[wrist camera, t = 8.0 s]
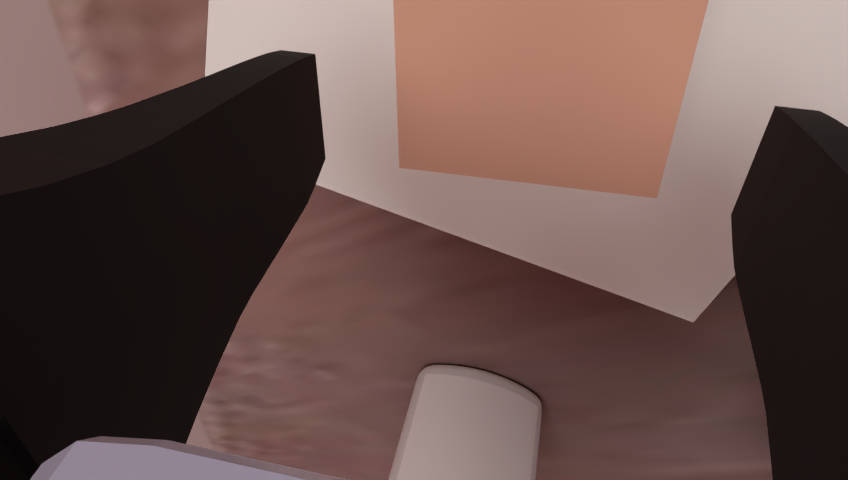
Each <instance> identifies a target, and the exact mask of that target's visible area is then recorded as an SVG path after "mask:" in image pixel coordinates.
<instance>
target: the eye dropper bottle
mask: <svg viewBox="0 0 848 480" xmlns="http://www.w3.org/2000/svg"><path fill="white" fill-rule="evenodd" d="M541 416H542V405H541V402H540V400H539V398H538V397H537V396H536V395H535V394H534V393H532V392H531V391H529V390H528V389H526V388H524V387H523V386H521V385H519V384H517V383H515V382H513V381H511V380H509V379H506V378H504V377H502V376H499V375H496V374H493V373H490V372H487V371H483V370H479V369H475V368H470V367H463V366H455V365H431V366H427V367H425V368H424V369H423V370H422V371H421V372H420V373H419V375H418V378H417V381H416V384H415V387H414V391H413V394H412V398H411V401H410V405H409V408H408V412H407V415H406V419H405V422H404V426H403V429H402V433H401V436H400V440H399V443H398V447H397V451H396V454H395V458H394V461H393V465H392V468H391V472H390V475H389V479H388V480H535V478H536V468H537V458H538V447H539V437H540V427H541Z"/></svg>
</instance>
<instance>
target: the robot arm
mask: <svg viewBox="0 0 848 480" xmlns="http://www.w3.org/2000/svg"><path fill="white" fill-rule="evenodd" d="M325 159H326V158H325V147H324V137H323V127H322V117H321V107H320V96H319V86H318V76H317V66H316V56H315V54H311V53H302V52H294V51H285V50H279V51H274V52H270V53H266V54H263V55H260V56H257V57H254V58H252V59H249V60H246V61H244V62H241V63H238V64H236V65H233V66H231V67H228V68H226V69H223V70H221V71H218V72H216V73H214V74H211V75H209V76H206V77H204V78H201V79H199V80H196V81H194V82H191V83H189V84H186V85H184V86H181V87H178V88H175V89H173V90H170V91H167V92H164V93H162V94H159V95H156V96H153V97H151V98H148V99H145V100H142V101H140V102H137V103H134V104H131V105H128V106H125V107H122V108H119V109H116V110H113V111H109V112H106V113H103V114H99V115H96V116H92V117H88V118H85V119H81V120H78V121H74V122H70V123H66V124H62V125H58V126H54V127H49V128H45V129H40V130H35V131H29V132H25V133H19V134H14V135H10V136H4V137H0V480H347V479H343V478H338V477H334V476H329V475H324V474H320V473H315V472H311V471H306V470H302V469H297V468H293V467H288V466H283V465H279V464H274V463H270V462H265V461H261V460H256V459H252V458H247V457H243V456H238V455H233V454H229V453H224V452H220V451H215V450H211V449H206V448H202V447H197V446H192V445H187V444H186V442H187V439H188V436H189V434H190V431H191V429H192V426H193V423H194V421H195V418H196V416H197V413H198V411H199V408H200V406H201V404H202V401H203V399H204V397H205V394H206V392H207V389H208V387H209V385H210V382H211V380H212V378H213V375H214V373H215V371H216V368H217V366H218V363H219V361H220V359H221V357H222V355H223V352H224V350H225V348H226V346H227V344H228V342H229V339H230V337H231V335H232V333H233V331H234V328H235V326H236V324H237V322H238V320H239V318H240V316H241V314H242V312H243V310H244V308H245V306H246V305H247V303H248V301H249V299H250V297H251V295H252V294H253V292H254V291H255V289H256V287H257V286H258V284H259V282H260V281H261V279H262V278H263V276H264V274H265V273H266V271H267V269H268V268H269V266H270V264H271V263H272V261H273V260H274V258H275V256H276V255H277V253H278V251H279V250H280V248H281V247H282V245H283V243H284V242H285V240H286V238H287V237H288V235H289V234H290V232H291V230H292V228H293V227H294V225H295V223H296V222H297V220H298V218H299V217H300V215H301V213H302V212H303V210H304V208H305V207H306V205H307V203H308V201H309V198H310V196H311V194H312V192H313V189H314V187H315V185H316V182H317V179H318V177H319V174H320V172H321V169H322V167H323V164H324V161H325ZM731 228H732V248H733V261H734V270H735V275H736V279H737V284H738V288H739V293H740V297H741V302H742V306H743V310H744V315H745V319H746V323H747V327H748V332H749V336H750V340H751V344H752V349H753V353H754V357H755V361H756V366H757V370H758V374H759V378H760V382H761V387H762V393H763V398H764V404H765V409H766V416H767V425H768V435H769V445H770V454H771V464H772V474H773V480H848V127H847V126H845V125H844V124H842V123H841V122H839V121H838V120H836V119H834V118H832V117H831V116H829V115H827V114H825V113H823V112H821V111H817V110H808V109H799V108H790V107H781V106H775V107H774V110H773V112H772V115H771V117H770V120H769V122H768V125H767V127H766V130H765V132H764V134H763V137H762V139H761V142H760V144H759V147H758V149H757V152H756V154H755V157H754V159H753V162H752V164H751V167H750V169H749V172H748V174H747V176H746V179H745V181H744V184H743V186H742V189H741V191H740V194H739V196H738V199H737V201H736V204H735V206H734V209H733V211H732V214H731Z"/></svg>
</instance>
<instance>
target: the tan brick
mask: <svg viewBox="0 0 848 480" xmlns="http://www.w3.org/2000/svg"><path fill="white" fill-rule="evenodd" d="M708 1H709V0H393V7H394V35H395V63H396V91H397V119H398V147H399V168H406V169H414V170H422V171H431V172H439V173H448V174H456V175H465V176H473V177H482V178H490V179H499V180H507V181H515V182H524V183H532V184H541V185H549V186H558V187H566V188H575V189H583V190H591V191H600V192H608V193H617V194H625V195H634V196H642V197H651V198H657V195H658V192H659V188H660V184H661V180H662V176H663V173H664V169H665V165H666V161H667V157H668V154H669V150H670V146H671V142H672V138H673V134H674V131H675V127H676V123H677V119H678V115H679V112H680V108H681V104H682V100H683V96H684V93H685V89H686V85H687V81H688V77H689V73H690V70H691V66H692V62H693V58H694V54H695V51H696V47H697V43H698V39H699V35H700V32H701V28H702V24H703V20H704V16H705V13H706V9H707V5H708Z"/></svg>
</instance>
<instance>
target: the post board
mask: <svg viewBox="0 0 848 480" xmlns="http://www.w3.org/2000/svg"><path fill="white" fill-rule="evenodd" d="M279 50H285V51H294V52H302V53H311V54H315V56H316V66H317V76H318V86H319V96H320V107H321V117H322V127H323V137H324V147H325V158H326V159H325V161H324V164H323V167H322V169H321V172H320V174H319V177H318V179H317V182H316V185H319V186H321V187H324V188H327V189H330V190H332V191H335V192H338V193H341V194H343V195H346V196H349V197H351V198H354V199H357V200H360V201H362V202H365V203H368V204H371V205H373V206H376V207H379V208H382V209H384V210H387V211H390V212H392V213H395V214H398V215H401V216H403V217H406V218H409V219H412V220H414V221H417V222H420V223H423V224H425V225H428V226H431V227H434V228H436V229H439V230H442V231H444V232H447V233H450V234H453V235H455V236H458V237H461V238H464V239H466V240H469V241H472V242H475V243H477V244H480V245H483V246H485V247H488V248H491V249H494V250H496V251H499V252H502V253H505V254H507V255H510V256H513V257H516V258H518V259H521V260H524V261H527V262H529V263H532V264H535V265H537V266H540V267H543V268H546V269H548V270H551V271H554V272H557V273H559V274H562V275H565V276H568V277H570V278H573V279H576V280H578V281H581V282H584V283H587V284H589V285H592V286H595V287H598V288H600V289H603V290H606V291H609V292H611V293H614V294H617V295H619V296H622V297H625V298H628V299H630V300H633V301H636V302H639V303H641V304H644V305H647V306H650V307H652V308H655V309H658V310H661V311H663V312H666V313H669V314H671V315H674V316H677V317H680V318H682V319H685V320H688V321H691V322H694V321H695V320H696V319H697V318H698V317H699V315H700V314H701V313H702V312H703V311H704V310H705V309H706V308H707V306H708V305H709V304H710V303H711V302H712V301H713V300H714V298H715V297H716V296H717V295H718V294H719V293H720V292H721V290H722V289H723V288H724V287H725V286H726V285H727V284H728V282H729V281H730V280H731V279H732V278H733V277H734V276H735V270H734V261H733V248H732V228H731V214H732V211H733V209H734V206H735V204H736V201H737V199H738V196H739V194H740V191H741V189H742V186H743V184H744V181H745V179H746V176H747V174H748V172H749V169H750V167H751V164H752V162H753V159H754V157H755V154H756V152H757V149H758V147H759V144H760V142H761V139H762V137H763V134H764V132H765V130H766V127H767V125H768V122H769V120H770V117H771V115H772V112H773V110H774V107H775V106H781V107H790V108H799V109H808V110H817V111H821V112H823V113H825V114H827V115H829V116H831V117H832V118H834V119H836V120H838V121H839V122H841V123H842V124H844V125H845V126H847V127H848V0H709V1H708V5H707V9H706V13H705V16H704V20H703V24H702V28H701V32H700V35H699V39H698V43H697V47H696V51H695V54H694V58H693V62H692V66H691V70H690V73H689V77H688V81H687V85H686V89H685V93H684V96H683V100H682V104H681V108H680V112H679V115H678V119H677V123H676V127H675V131H674V134H673V138H672V142H671V146H670V150H669V154H668V157H667V161H666V165H665V169H664V173H663V176H662V180H661V184H660V188H659V192H658V195H657V198H651V197H642V196H634V195H625V194H617V193H608V192H600V191H591V190H583V189H575V188H566V187H558V186H549V185H541V184H532V183H524V182H515V181H507V180H499V179H490V178H482V177H473V176H465V175H456V174H448V173H439V172H431V171H422V170H414V169H406V168H399V147H398V119H397V91H396V63H395V35H394V7H393V0H209V9H208V29H207V48H206V67H205V77H206V76H209V75H211V74H214V73H216V72H218V71H221V70H223V69H226V68H228V67H231V66H233V65H236V64H238V63H241V62H244V61H246V60H249V59H252V58H254V57H257V56H260V55H263V54H266V53H270V52H274V51H279Z"/></svg>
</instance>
